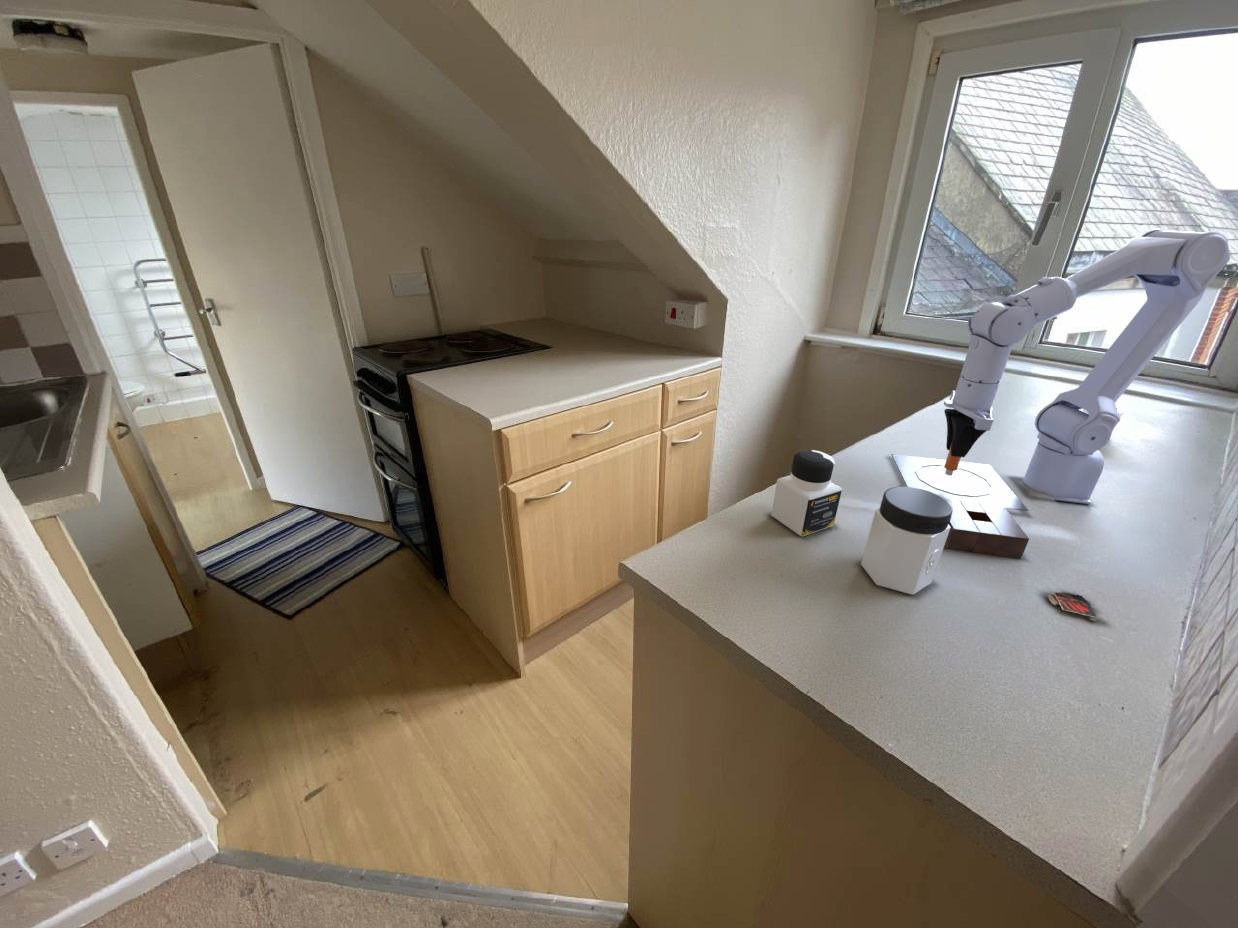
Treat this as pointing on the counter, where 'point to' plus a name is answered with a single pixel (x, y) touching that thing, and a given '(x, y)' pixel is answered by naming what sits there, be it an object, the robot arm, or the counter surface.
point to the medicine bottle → (807, 494)
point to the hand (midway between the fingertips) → (955, 452)
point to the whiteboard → (957, 481)
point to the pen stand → (984, 529)
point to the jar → (907, 539)
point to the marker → (951, 463)
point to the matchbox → (1073, 604)
